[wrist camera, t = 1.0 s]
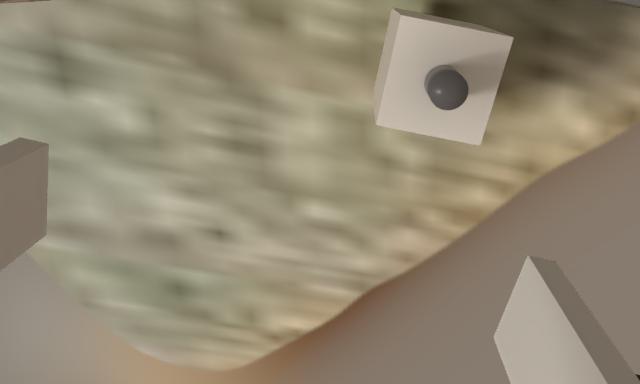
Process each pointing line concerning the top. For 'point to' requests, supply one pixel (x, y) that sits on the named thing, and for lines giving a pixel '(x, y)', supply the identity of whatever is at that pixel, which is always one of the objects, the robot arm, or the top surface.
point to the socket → (626, 2)
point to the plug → (439, 76)
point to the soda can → (15, 0)
